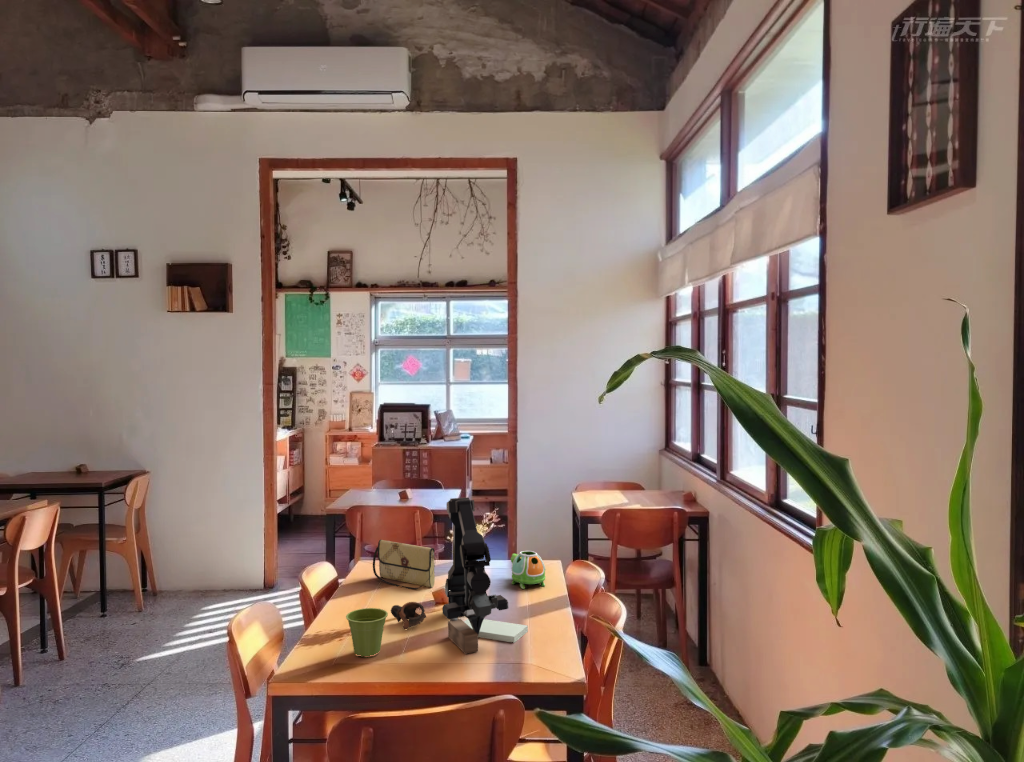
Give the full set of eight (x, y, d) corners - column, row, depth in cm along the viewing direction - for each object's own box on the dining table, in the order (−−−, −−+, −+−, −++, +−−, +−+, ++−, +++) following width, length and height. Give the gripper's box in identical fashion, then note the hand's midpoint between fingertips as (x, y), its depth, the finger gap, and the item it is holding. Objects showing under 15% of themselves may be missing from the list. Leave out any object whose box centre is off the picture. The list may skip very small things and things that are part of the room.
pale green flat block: (455, 633, 226) (455, 627, 225) (470, 622, 235) (470, 617, 235) (514, 642, 217) (514, 636, 217) (527, 631, 226) (527, 625, 226)
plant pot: (368, 664, 203) (368, 624, 203) (338, 656, 209) (337, 617, 209) (397, 650, 213) (396, 611, 213) (366, 642, 219) (366, 605, 219)
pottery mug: (429, 620, 239) (431, 603, 234) (418, 643, 231) (420, 625, 226) (394, 610, 240) (396, 592, 236) (382, 631, 232) (384, 613, 228)
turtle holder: (527, 574, 287) (527, 544, 287) (552, 586, 271) (551, 554, 271) (499, 579, 281) (499, 548, 281) (523, 592, 265) (522, 559, 265)
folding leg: (446, 635, 223) (446, 618, 223) (458, 633, 225) (458, 616, 225) (465, 654, 209) (464, 635, 209) (478, 651, 210) (477, 633, 210)
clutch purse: (368, 580, 283) (367, 542, 282) (381, 576, 288) (380, 538, 288) (427, 593, 266) (427, 552, 266) (439, 588, 272) (439, 547, 272)
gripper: (452, 595, 204) (454, 651, 204) (514, 585, 211) (516, 639, 211) (440, 584, 214) (443, 637, 214) (500, 575, 221) (502, 626, 221)
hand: (476, 635), depth 215 cm, fingers closed
